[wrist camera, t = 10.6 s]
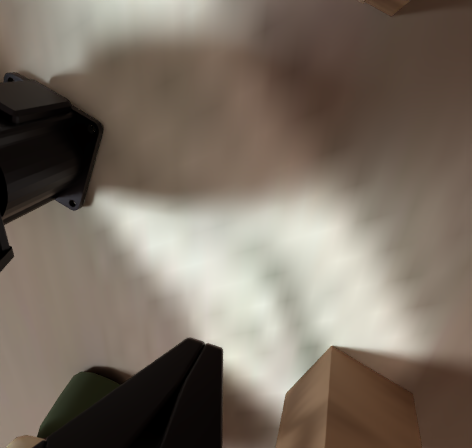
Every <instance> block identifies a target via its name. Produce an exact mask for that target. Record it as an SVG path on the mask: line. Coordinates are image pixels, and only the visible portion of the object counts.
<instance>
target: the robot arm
mask: <svg viewBox="0 0 472 448" xmlns="http://www.w3.org/2000/svg"><path fill="white" fill-rule="evenodd" d="M13 79H14V82H13ZM92 125H93V126H94V128H95V132H94V131H93V129H92ZM102 133H103V127H102V125H101V123H100V122H99V121H98V120H96V119H95V118H93V117H91V116H89V115H88V114H86V113H84V112H83V111H81V110H79V109H78V108H76V107H74V106H72V104H71V103H70V101H69V100H67V99H66V98H64V97H62V96H61V95H59V94H57V93H55V92H54V91H52V90H50V89H49V88H47V87H45V86H44V85H42V84H40V83H38V82H37V81H35V80H28V79H26V78H25V77H23V76H21V75H20V74H18V73H15V72H13V73H6V74H5V76H4V82H3V83H0V272H1V271H2V270H3V269H4V267H5V266H6V265H7V264H8V263H9V262H10V261H11V260H12V258H13V257H14V253H13V250H12V247H11V246H9V243H8V239H7V235H6V231H5V227H4V225H5V224H7V223H9V222H11V221H13V220H15V219H17V218H19V217H21V216H23V215H25V214H27V213H29V212H31V211H33V210H35V209H37V208H39V207H41V206H42V205H44V204H46V203H48V202H50V201H52V200H56V201H58V202H59V203H61V204H63V205H64V206H66V207H68V208H69V209H71V210H78V209H79V208H81V207H82V206H83V203H84V199H85V195H86V192H87V188H88V184H89V181H90V177H91V173H92V170H93V166H94V162H95V159H96V155H97V151H98V148H99V144H100V141H101V137H102ZM73 201H74V202H75V203H76V204H75V203H74V202H73ZM222 421H223V349H222V348H221V347H218V346H215V345H212V344H209V343H207V344H206V345H205V343H204V342H203V341H200V340H197V339H194V338H191V337H189V338H186V339H185V340H183V341H182V342H181V343H179V344H178V345H176V346H175V347H174V348H172V349H171V350H169V351H168V352H167V353H165V354H164V355H162V356H161V357H160V358H158V359H157V360H155V361H154V362H152V363H151V364H150V365H148V366H147V367H145V368H144V369H143V370H141V371H140V372H138V373H137V374H136V375H134V376H133V377H131V378H130V379H128V380H127V381H126V382H124V383H123V384H121V385H120V386H119V387H117V388H116V389H114V390H113V391H112V392H110V393H109V394H107V395H106V396H104V397H103V398H102V399H100V400H99V401H97V402H96V403H95V404H93V405H92V406H90V407H89V408H88V409H86V410H85V411H83V412H82V413H81V414H79V415H78V416H76V417H75V418H73V419H72V420H71V421H69V422H68V423H66V424H65V425H64V426H62V427H61V428H59V429H58V430H57V431H55V432H54V433H52V434H51V435H49V436H48V437H47V439H46V441H45V440H42V441H41V442H39V443H38V444H36V445H35V446H34V447H32V448H222Z"/></svg>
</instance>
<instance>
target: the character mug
mask: <svg viewBox="0 0 472 448" xmlns="http://www.w3.org/2000/svg"><path fill="white" fill-rule="evenodd" d="M119 386H120V384H118V383H116V382H114V381H112V380H110V379H108V378H105V377H102V376H100V375H97V374H95V373H89V372H80V373H78V374H76V375H74V376H73V378H72V379H71V381H70V382H69V383H68V385H67V386H66V388H65V389H64V390H63V392H62V393H61V395H60V396H59V398H58V399H57V401H56V402H55V404H54V405H53V407H52V409H51V410H50V412H49V413H48V415H47V416H46V418H45V419H44V421H43V422H42V424H41V426H40V429H39V432H38V435H37V437H33V436H29V435H25V436H20V437H16V438H15V439H14V440H13V441H12V442H11V443H10V444H9V445H8V446H7V447H6V448H32V447H34V446H35V445H36V444H38V443H39V442H41V441H42V440H45V441H46V439H47V437H48V436H49V435H51V434H52V433H54V432H55V431H57V430H58V429H59V428H61V427H62V426H64V425H65V424H66V423H68V422H69V421H71V420H72V419H73V418H75V417H76V416H78V415H79V414H81V413H82V412H83V411H85V410H86V409H88V408H89V407H90V406H92V405H93V404H95V403H96V402H97V401H99V400H100V399H102V398H103V397H104V396H106V395H107V394H109V393H110V392H112V391H113V390H114V389H116V388H117V387H119Z"/></svg>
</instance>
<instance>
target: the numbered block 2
mask: <svg viewBox="0 0 472 448" xmlns="http://www.w3.org/2000/svg"><path fill="white" fill-rule="evenodd" d="M357 1H359V2H361V3H362V4H364V2H366V3H368V4H370V5H371V6H373V7H375V8H377V9H379V10H380V11H382V12H384V13H386V14H388V15H389V16H392V15H393V14H395V13H396V12H397V11H398V10H400V9H401V8H402V7H403V6H404V5H406V4H407V3H408V2H409V1H410V0H357Z"/></svg>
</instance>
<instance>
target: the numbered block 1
mask: <svg viewBox="0 0 472 448" xmlns="http://www.w3.org/2000/svg"><path fill="white" fill-rule="evenodd" d="M276 448H422V444H421V438H420V432H419V427H418V421H417V415H416V410H415V404H414V398H413V394H412V393H411V392H409V391H407V390H406V389H404V388H402V387H400V386H399V385H397V384H395V383H394V382H392V381H390V380H389V379H387V378H385V377H384V376H382V375H380V374H379V373H377V372H375V371H374V370H372V369H370V368H369V367H367V366H365V365H363V364H362V363H360V362H358V361H357V360H355V359H353V358H352V357H350V356H348V355H347V354H345V353H343V352H342V351H340V350H338V349H337V348H335V347H333V346H331V347H330V348H329V349H328V350H327V351H326V352H325V353H324V354H323V355H322V356H321V357H320V358H319V359H318V360H317V361H316V363H315V364H314V365H313V366H312V367H311V368H310V369H309V370H308V371H307V372H306V373H305V374H304V375H303V376H302V377H301V378H300V379H299V380H298V381H297V382H296V383H295V385H294V386H293V387H292V388H291V389H290V390H289V391H288V392H287V393H286V396H285V401H284V406H283V411H282V417H281V422H280V427H279V432H278V438H277V443H276Z"/></svg>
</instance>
